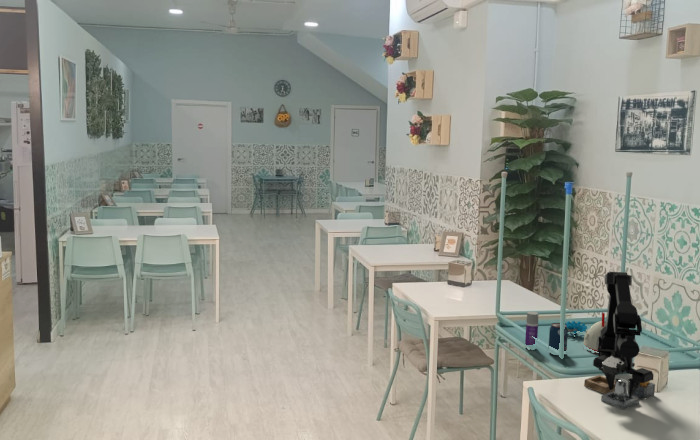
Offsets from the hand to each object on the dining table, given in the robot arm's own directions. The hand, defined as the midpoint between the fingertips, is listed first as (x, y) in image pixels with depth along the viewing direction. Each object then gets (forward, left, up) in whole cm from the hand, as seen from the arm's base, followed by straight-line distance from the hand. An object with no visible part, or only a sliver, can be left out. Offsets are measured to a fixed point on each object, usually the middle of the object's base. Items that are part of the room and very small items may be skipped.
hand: (620, 393), depth 221 cm
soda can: (-42, +21, -3) cm, 47 cm away
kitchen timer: (-36, +41, -3) cm, 55 cm away
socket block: (0, +5, -3) cm, 6 cm away
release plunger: (0, +12, -1) cm, 12 cm away
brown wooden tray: (-11, +6, -3) cm, 13 cm away
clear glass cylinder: (0, 0, -3) cm, 3 cm away
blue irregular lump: (-54, +46, -3) cm, 71 cm away
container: (-52, +17, -3) cm, 55 cm away
